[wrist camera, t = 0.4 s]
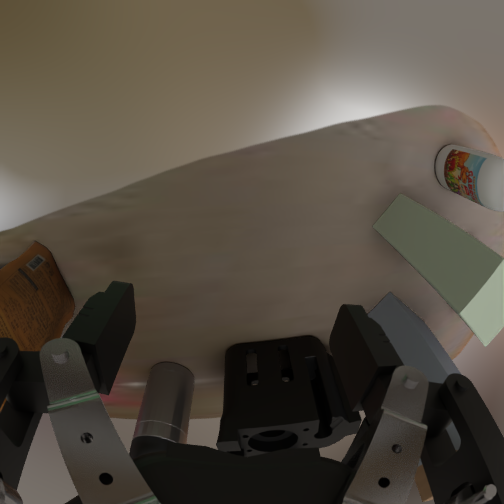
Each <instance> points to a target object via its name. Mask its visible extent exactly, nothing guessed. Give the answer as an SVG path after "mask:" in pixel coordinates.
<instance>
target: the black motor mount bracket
mask: <svg viewBox="0 0 504 504" xmlns="http://www.w3.org/2000/svg"><path fill="white" fill-rule="evenodd" d="M283 349H286V350H288V352H289V357H290V362H291V367H292V369H285V370H281V367H280V361H279V354H278V351H279V350H283ZM248 353H256V354H257V368H258V373H248V374H247V362H246V355H247V354H248ZM285 380H288V382H285ZM253 384H257V385H253ZM360 423H361V417H360V414H359V411H352V409H351V407H350V404H349V401H348V398H347V395H346V392H345V389H344V387H343V384H342V381H341V378H340V375H339V373H338V370H337V367H336V364H335V362H334V359H333V357H332V356H331V355H330V354H328V353H327V352H326V350H325V348H324V346H323V345H322V343H321V342H320V341H319V340H318V339H316V338H313V337H310V336H308V337H301V338H294V339H286V340H278V341H269V342H260V343H250V344H240V345H236V346H233V347H231V348H230V349H229V350H228V351H227V353H226V356H225V376H224V402H223V414H222V417H221V420H220V431H219V436H218V440H217V443H216V446H217V448H218V450H220V451H223V452H227V453H231V454H235V455H238V456H243V457H249V456H255V455H259V454H264V453H269V452H273V451H277V450H281V449H297V448H314V447H319V448H322V447H327V446H330V445H332V444H334V443H336V442H338V441H339V440H341V439H342V438H343V437H345V436H347V435H351V434H356V433H357V432H358V429H359V426H360Z"/></svg>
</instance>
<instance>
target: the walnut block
mask: <svg viewBox="0 0 504 504" xmlns="http://www.w3.org/2000/svg"><path fill="white" fill-rule="evenodd" d="M457 451H458V450H456V452H457ZM414 479H415V482H416V484H417V487H418V490H419V493H420V496H421V499H422V502H425V501H428V500H433V496H432V492H431V489H430V486H429V483H428V480H427V477H426V474H425V471H424V468H423V465H420V466H418V467H417V471H416V474H415V477H414Z"/></svg>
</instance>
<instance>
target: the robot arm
mask: <svg viewBox="0 0 504 504" xmlns="http://www.w3.org/2000/svg"><path fill="white" fill-rule="evenodd" d="M135 325H136V313H135V301H134V288H133V285H132V284H131V283H125V282H118V281H113V282H112V283H111V284H110V285H109V287H108V288H107V290H106V291H105V293H104V292H98V293H97V294H95V295H93V296H92V297H90V298H89V299H88V301H87V302H86V303H85V305H84V306H83V308H82V309H81V310H80V312H79V315H77V316H76V318H75V319H74V321H73V322H72V323H71V325H70V326H69V328H68V329H67V331H66V332H65V334H64V335H63V337H62V338H56V339H53V340H51V341H49V342H47V343H46V344H45V345H44V346H43V347H42V348H41V351H20V350H19V347H18V345H17V343H16V342H15V341H14V340H13V339H11V338H7V337H3V338H0V408H1V406H2V404H3V402H4V400H5V398H6V399H7V400H6V402H5V404H4V406H3V408H2V410H1V412H0V504H23V501H22V499H21V497H20V495H19V493H18V492H17V487H18V484H19V480H20V477H21V473H22V470H23V467H24V464H25V461H26V458H27V455H28V451H29V449H30V446H31V443H32V440H33V437H34V435H35V432H36V429H37V427H38V424H39V421H40V419H41V416H42V414H43V413H49V416H50V420H51V423H52V427H53V430H54V433H55V436H56V439H57V442H58V445H59V448H60V451H61V454H62V456H63V459H64V461H65V464H66V466H67V469H68V472H69V474H70V476H71V479H72V481H73V484H74V486H75V488H76V490H77V492H78V496H76V497H75V498H73V499H71V500H70V501H68V502H67V503H65V504H405V503H406V501H407V498H408V495H409V492H410V490H411V486H412V484H413V480H414V477H415V474H416V471H417V467H418V464H419V461H420V459H421V462H422V465H423V468H424V471H425V474H426V477H427V480H428V483H429V486H430V489H431V492H432V496H433V499H434V502H435V504H504V437H503V435H502V434H501V432H500V430H499V428H498V426H497V424H496V423H495V421H494V419H493V417H492V415H491V414H490V412H489V410H488V408H487V407H486V405H485V403H484V401H483V400H482V398H481V397H480V395H479V393H478V392H477V390H476V388H475V387H474V385H473V384H472V382H471V381H470V380H469V379H468V378H467V377H465V376H463V375H461V374H458V373H452V374H450V375H448V377H447V378H446V379H445V381H444V382H443V384H442V383H435V382H429V381H428V379H427V377H426V376H425V375H424V374H423V373H422V372H421V371H420V370H418V369H417V368H415V367H412V366H405V365H404V364H403V362H402V360H401V359H400V357H399V355H398V354H397V352H396V350H395V349H394V347H393V345H392V344H391V343H390V340H389V339H388V337H387V336H386V334H385V332H384V330H383V329H382V327H381V326H380V325H379V324H378V323H377V322H376V321H375V320H373V319H372V318H369V317H368V315H367V313H366V312H365V310H364V308H363V307H362V306H361V305H348V304H343V305H342V306H341V307H340V310H339V312H338V315H337V318H336V321H335V324H334V327H333V330H332V332H331V335H330V341H329V346H330V351H331V353H332V356H333V359H334V362H335V364H336V367H337V370H338V373H339V375H340V378H341V381H342V384H343V387H344V389H345V392H346V395H347V398H348V401H349V404H350V407H351V409H352V411H362V410H364V412H365V415H366V417H365V418H364V420H363V422H362V424H361V426H360V428H359V430H358V432H357V434H356V436H355V438H354V440H353V442H352V444H351V446H350V448H349V450H348V452H347V454H346V456H345V457H344V459H343V460H342V462H339V461H336V460H333V459H329V458H325V457H320V452H319V447H314V448H297V449H281V450H277V451H273V452H269V453H264V454H259V455H255V456H249V457H243V456H238V455H235V454H231V453H227V452H223V451H220V450H216V449H213V448H210V447H206V446H198V445H190V444H187V435H188V427H189V419H190V411H191V403H192V396H193V389H194V376H193V375H192V373H191V372H190V371H189V370H188V369H186V368H185V367H183V366H181V365H178V364H175V363H168V362H165V363H159V364H156V365H155V366H154V367H153V368H152V369H151V372H150V375H149V379H148V382H147V385H146V389H145V393H144V396H143V400H142V404H141V408H140V411H139V415H138V419H137V423H136V427H135V432H134V436H133V440H132V444H131V448H130V453H128V452H127V450H126V448H125V446H124V445H123V443H122V441H121V439H120V437H119V435H118V433H117V431H116V430H115V428H114V425H113V423H112V421H111V419H110V417H109V415H108V413H107V411H106V409H105V407H104V404H103V402H102V400H101V398H100V396H99V393H101V394H106V395H109V393H110V391H111V388H112V385H113V383H114V380H115V378H116V375H117V372H118V370H119V367H120V365H121V362H122V360H123V357H124V355H125V353H126V350H127V348H128V345H129V343H130V341H131V338H132V336H133V333H134V330H135ZM452 421H453V423H454V426H455V428H456V430H457V432H458V434H459V436H460V439H461V444H460V447H459V449H458V451H457V452H456V450H455V448H454V445H453V443H452V441H451V438H450V436H449V434H448V432H447V430H446V428H447V427H448V426H449V425H450V424H451V422H452Z"/></svg>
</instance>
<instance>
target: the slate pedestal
mask: <svg viewBox="0 0 504 504" xmlns="http://www.w3.org/2000/svg"><path fill="white" fill-rule="evenodd" d="M368 317H369V318H372V319H373V320H375V321H376V322H377V323H378V324H379V325H380V326H381V327H382V329H383V330H384V332H385V334H386V336H387V337H388V339H389V340H390V343H391V344H392V345H393V347H394V349H395V350H396V352H397V354H398V355H399V357H400V359H401V360H402V362H403V364H404V365H405V366H412V367H415V368H417V369H418V370H420V371H421V372H422V373H423V374H424V375H425V376H426V377H427V379H428V381H429V382H435V383H442V384H443V382H444V381H445V379H446V378H447V377H448V375H450V374H452V373H458V374H461V373H460V372H459V370H458V369H457V367H456V366H455V364H454V363H453V361H452V360H451V358H450V357H449V355H448V354H447V353H446V351H445V350H444V348H443V347H442V345H441V344H440V343H439V341H438V340H437V339H436V337H435V336H434V334H433V333H432V332H431V330H430V329H429V328H428V326H427V325H426V324H425V322H423V321H422V320H421V319H420V318H419V317H418V316H417V315H416V314H415V313H414V312H412V311H411V310H410V309H409V308H408V307H407V306H406V305H405V304H403V303H402V302H401V301H400V300H399V299H398V298H397V297H395V296H394V295H393V294H392V293H391V292H389V293H388V294H387V295H386V296H385V297H384V298H383V299H382V300H381V302H380V303H379V304H378V305H377V306H376V307H375V308H374V309H373V310H372V311H371V312H370V313H369V314H368ZM446 430H447V432H448V434H449V436H450V438H451V441H452V443H453V445H454V448H455V450H458V449H459V447H460V444H461V439H460V436H459V434H458V432H457V430H456V428H455V426H454V423H453V421H452V422H451V424H450V425H449V426H448V427H447V428H446ZM420 465H422V462H421V459H420V461H419V464H418V466H420Z"/></svg>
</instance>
